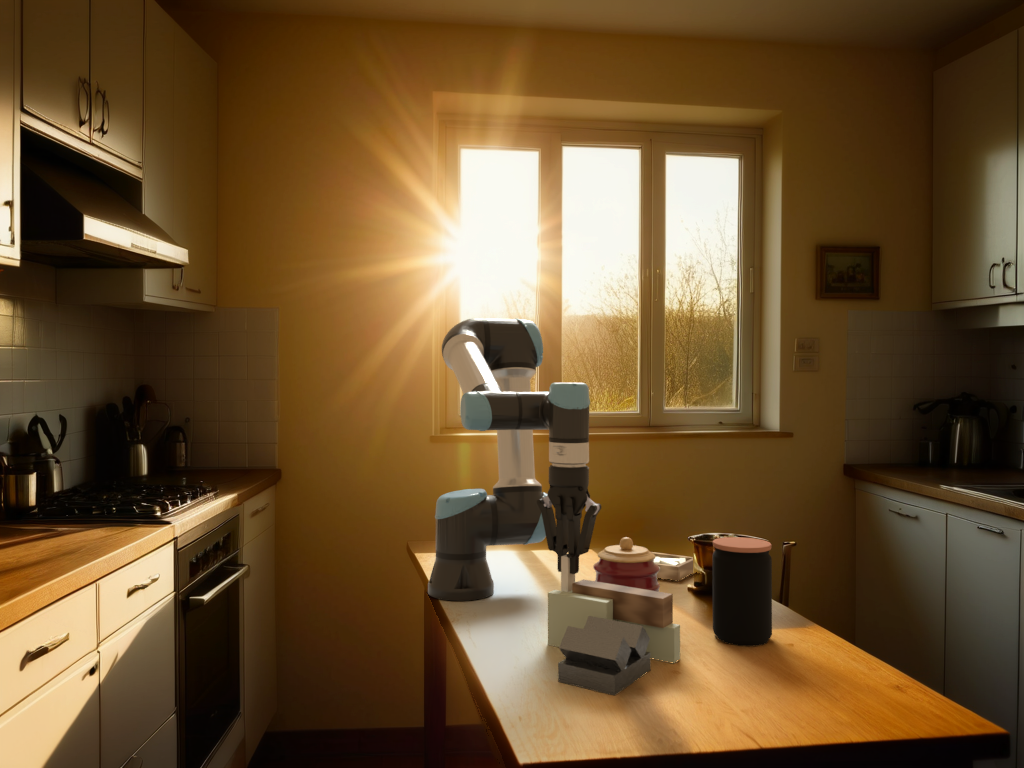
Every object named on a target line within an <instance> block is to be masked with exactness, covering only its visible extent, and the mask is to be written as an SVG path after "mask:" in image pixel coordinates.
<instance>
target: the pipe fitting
mask: <svg viewBox="0 0 1024 768" xmlns="http://www.w3.org/2000/svg"><path fill="white" fill-rule="evenodd" d="M685 561H686V559H685V558H679V559H675V558H660V557H655V559H654V563H658V564H666V565H673V566H677V565H679V564H681V563H683V562H685Z"/></svg>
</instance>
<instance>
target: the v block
mask: <svg viewBox="0 0 1024 768" xmlns="http://www.w3.org/2000/svg"><path fill="white" fill-rule="evenodd" d="M649 640H650V638H649V636H648V634H647V632H646V631H645V629H644V627H643V626H641V625H636V624H630V623H625V622H620V621H614V620H609V619H603V618H598V617H593V616H588V619H587V621H586V624H585V627H584V629H581V628H576V627H571V626H568V627H567V629H566V632H565V634H564V637H563V639H562V642H561V644H560V646H559V647H558V649H559V651H560V652H561V653H562V655H563V656H564V657H565V659H562V660H561V661H559V662H558V664H557V665H558V666H557V667H558V670H557V671H558V673H557V676H558V678H557V679H558V680H557V682H558V683H562V684H566V685H570V686H575V687H579V688H583V689H587V690H590V691H594V692H595V691H596V692H599V693H603V694H606V695H611V696H616V695H618V694H619V693H621V692H622V691H624V690H625V689H626V688H627V687H629V686H630V685H632V684H634V683H635V682H636V681H638V680H639V679H641V678H642V677H643V676H644V675H643V674H645V673H646V672H648V671H649V670H650V671H651V659H650V652H647V651H646V649H647V646H648V643H649ZM650 671H649V672H650ZM649 672H648V673H649ZM646 674H647V673H646ZM646 674H645V675H646ZM642 675H643V676H642ZM641 676H642V677H641ZM638 678H639V679H638ZM637 679H638V680H637ZM635 680H636V681H635ZM634 681H635V682H634Z"/></svg>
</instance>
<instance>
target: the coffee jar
mask: <svg viewBox="0 0 1024 768" xmlns="http://www.w3.org/2000/svg"><path fill="white" fill-rule="evenodd" d="M712 546H713V547H714V549H715V550H714V552H712V632H713V634H714V635H715V636H716V639H718V640H719V641H720V640H721V642H723V643H725V642H726V643H725V644H729V643H730V644H729V645H735V646H741V647H758V646H763V645H765V644H767V643H768V642H769V641H770V639H771V638H772V635H773V594H772V593H773V584H772V583H773V582H772V580H773V579H772V578H773V574H772V572H773V570H772V569H773V565H772V564H773V563H772V562H773V561H772V560H773V559H772V556H771V554H770V551H771V549H772V544H771V542H769V541H767V540H763V539H760V538H754V537H742V536H741V537H738V536H735V537H734V536H729V537H728V536H727V537H726V536H725V537H719V538H715V539H713V540H712Z"/></svg>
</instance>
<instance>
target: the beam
mask: <svg viewBox="0 0 1024 768" xmlns="http://www.w3.org/2000/svg"><path fill="white" fill-rule="evenodd" d="M588 616H593V617H598V618H603V619H609V620H614V621H620V622H625V623H630V624H636V625H641V626H643V627H644V629H645V631H646V632H647V634H648V636H649V638H650V640H649V643H648V646H647V649H646V651H647V652H650V658H654V659H659V660H663V661H662V662H664V661H668V662H673V663H675V662H676V661H677V660H679V659H680V660H681V625H680V624H677V623H671V624H669V625H668V626H666V627H664V628H659V627H654V626H649V625H643V624H638V623H633V622H628V621H622V620H617V619H613V600H612V599H606V598H601V597H595V596H589V595H583V594H577V593H572V591H570V592H565V591H561V590H558V589H553V590H551V591H549V592H547V645H548V646H552V647H557V648H559V646H560V644H561V642H562V639H563V637H564V634H565V632H566V629H567V627H568V626H571V627H576V628H581V629H584V627H585V624H586V621H587V619H588ZM654 659H653V660H654ZM659 660H658V661H659ZM680 660H679V661H680ZM668 662H667V663H668ZM677 662H678V661H677ZM677 662H676V663H677ZM673 663H672V664H673ZM676 663H675V664H676Z"/></svg>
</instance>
